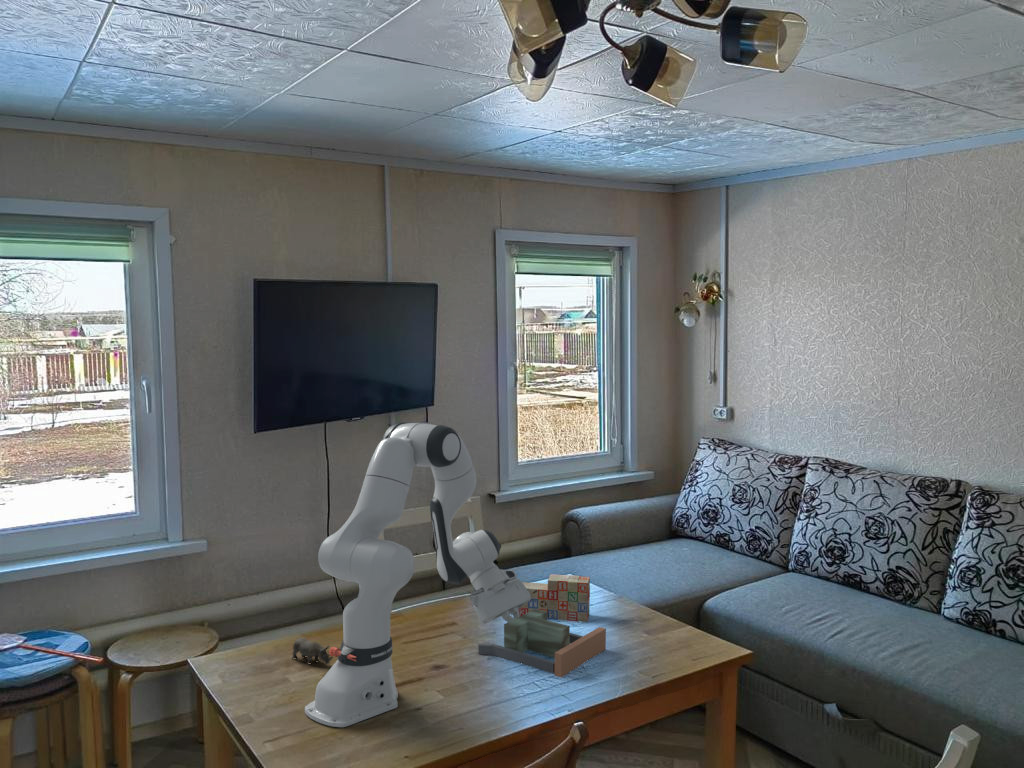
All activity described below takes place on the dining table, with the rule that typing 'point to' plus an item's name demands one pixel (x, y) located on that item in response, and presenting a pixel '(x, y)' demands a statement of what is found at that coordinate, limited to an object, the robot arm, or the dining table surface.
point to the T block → (536, 634)
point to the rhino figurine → (310, 650)
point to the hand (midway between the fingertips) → (518, 625)
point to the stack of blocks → (560, 597)
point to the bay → (556, 653)
